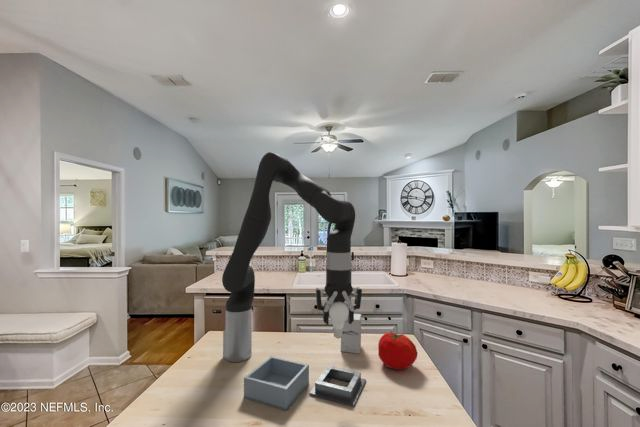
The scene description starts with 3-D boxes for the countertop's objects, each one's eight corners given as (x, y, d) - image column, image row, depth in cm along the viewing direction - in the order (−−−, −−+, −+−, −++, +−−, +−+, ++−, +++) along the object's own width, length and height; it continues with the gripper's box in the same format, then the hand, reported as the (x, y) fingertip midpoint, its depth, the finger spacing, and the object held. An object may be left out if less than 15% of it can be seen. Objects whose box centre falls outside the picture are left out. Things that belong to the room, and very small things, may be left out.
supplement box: (340, 352, 105) (340, 318, 106) (342, 343, 112) (342, 312, 113) (360, 354, 104) (359, 319, 104) (361, 345, 111) (361, 313, 111)
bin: (243, 397, 78) (243, 377, 78) (270, 373, 90) (270, 356, 91) (286, 410, 73) (286, 389, 73) (308, 382, 85) (308, 364, 85)
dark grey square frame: (309, 395, 79) (309, 384, 79) (326, 372, 91) (326, 362, 91) (353, 407, 74) (353, 395, 74) (365, 381, 86) (365, 371, 86)
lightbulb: (331, 343, 79) (332, 304, 79) (324, 335, 85) (325, 298, 85) (352, 341, 81) (352, 302, 81) (343, 332, 87) (344, 297, 87)
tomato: (370, 360, 99) (370, 330, 99) (398, 353, 104) (398, 325, 104) (394, 379, 87) (394, 345, 87) (425, 371, 92) (424, 338, 92)
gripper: (359, 264, 88) (358, 318, 88) (313, 265, 86) (313, 319, 86) (365, 268, 81) (365, 327, 80) (316, 269, 79) (315, 329, 78)
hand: (338, 323), depth 83 cm, fingers closed on lightbulb, 6 cm apart
